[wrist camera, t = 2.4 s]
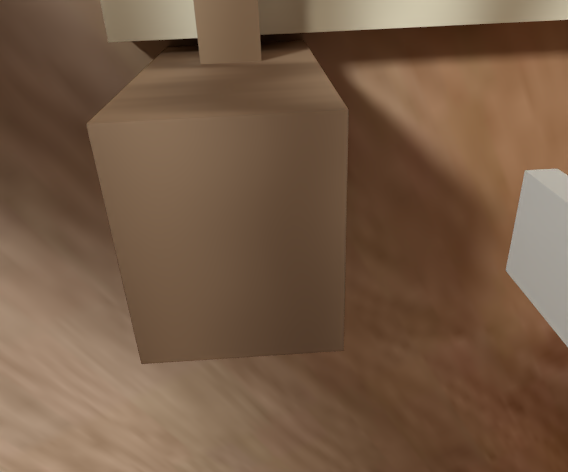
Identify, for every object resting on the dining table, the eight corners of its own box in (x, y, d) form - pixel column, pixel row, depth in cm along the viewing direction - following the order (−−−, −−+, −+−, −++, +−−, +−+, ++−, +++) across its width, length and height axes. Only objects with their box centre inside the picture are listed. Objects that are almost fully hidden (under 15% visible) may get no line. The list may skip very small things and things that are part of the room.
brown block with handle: (188, 198, 21) (141, 364, 12) (131, -202, 15) (-44, -436, 6) (306, 191, 21) (343, 351, 13) (298, -208, 15) (360, -446, 6)
